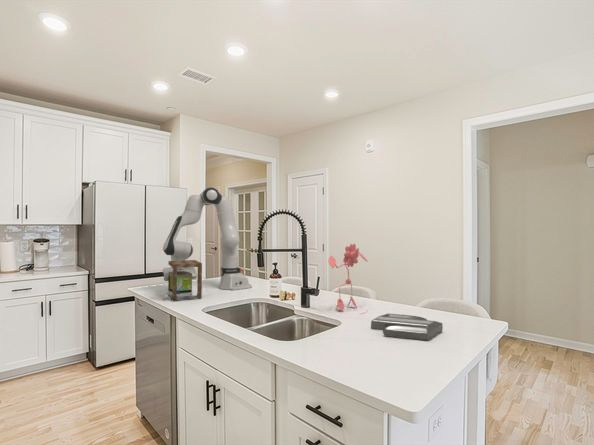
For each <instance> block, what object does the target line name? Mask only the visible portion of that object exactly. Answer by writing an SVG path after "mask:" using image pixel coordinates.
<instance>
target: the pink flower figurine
mask: <svg viewBox="0 0 594 445" xmlns="http://www.w3.org/2000/svg"><path fill="white" fill-rule="evenodd" d="M344 249H345V252H344V254H343V256H344V257H343V260H342V262H343V264H341V265H339V266H337V262H336V259H335V256H332V255H330V256H329V258H328V264H329V265H330V267H331V268H332V269H334V268H335V267H336V269H338V268H340V267H342V266H345V268H346V270H347V277H348V278H347V279H346V280H345V283H344V284H342V285H340V286H339V287H338V289H339V290H338V291H339V296H341V288H342V287H343V286H345V285H350V287H351V288H350V290H351V294H353V285H352V280H351V279H350V271H349V267H351V268H353V267H354V264H358V262H359V260H358V258H359V256H360V258H362V259H363V260H364V261H365V262H369V261H368V260H367V259H366V257H365V256H364V255H363V254H362V253H361V252H360V248H359V247H357V245H356V243H353V244H352V243H350V244H349V246H348V245H346V246H345V247H344ZM349 298H350V299H349V302H348V303H347V305H346V306H347V307H348V308H349V306H350V304H351V302H352V304H353V306H354V307H355V308H358V306H357V303H356V300H354V298H353V296H352V295H351V296H349ZM344 308H345V304H344V301H343V300H342V299H341V298H338V299H337V305H336V307H335V310H337V309H339V310H340V311H341V312H343V311H344ZM327 311H329V309H327ZM365 313H367V311H365V312H362V313H360V315H361V314H362V315H363V314H365Z"/></svg>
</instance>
